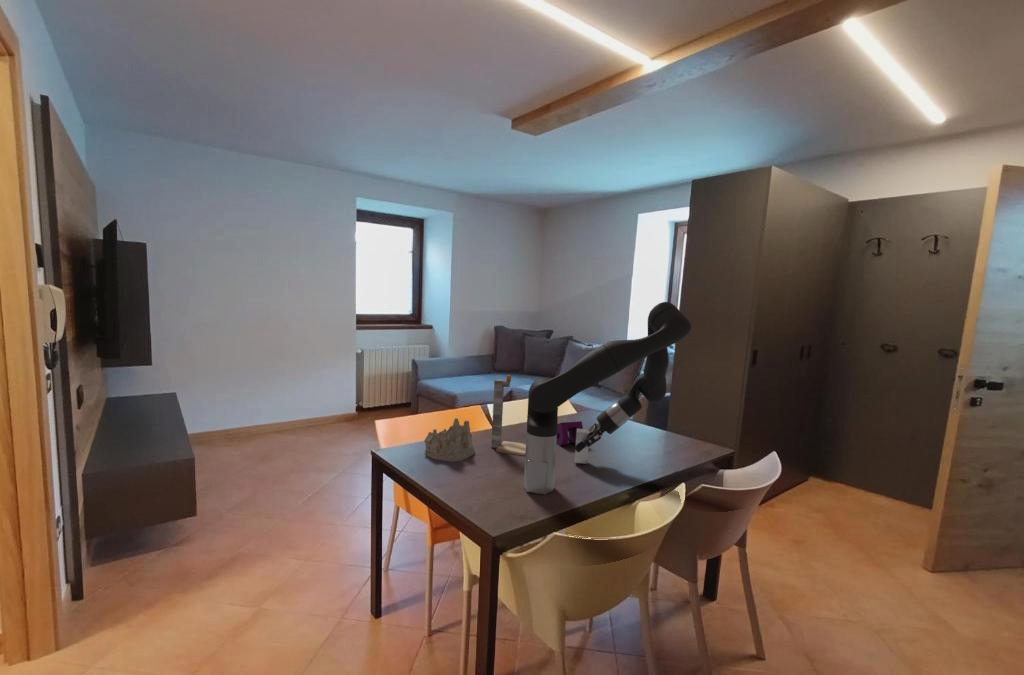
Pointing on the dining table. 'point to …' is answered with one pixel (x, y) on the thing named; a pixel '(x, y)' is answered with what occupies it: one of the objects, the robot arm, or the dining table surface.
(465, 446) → the gray sandcastle
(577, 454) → the gray rectangular block
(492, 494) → the dining table surface
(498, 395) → the keeper
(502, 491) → the dining table surface
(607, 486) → the dining table surface
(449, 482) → the dining table surface
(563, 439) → the mounting bracket
